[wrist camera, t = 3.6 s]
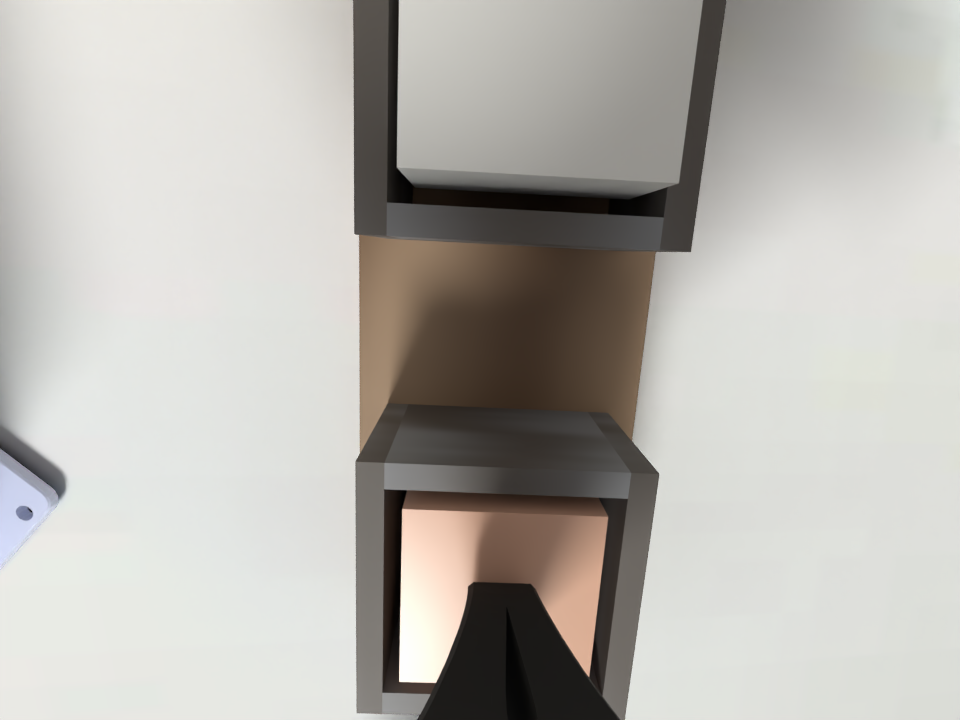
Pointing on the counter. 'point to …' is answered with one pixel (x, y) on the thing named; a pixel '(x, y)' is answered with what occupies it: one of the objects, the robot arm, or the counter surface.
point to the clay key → (495, 566)
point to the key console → (502, 355)
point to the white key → (545, 94)
